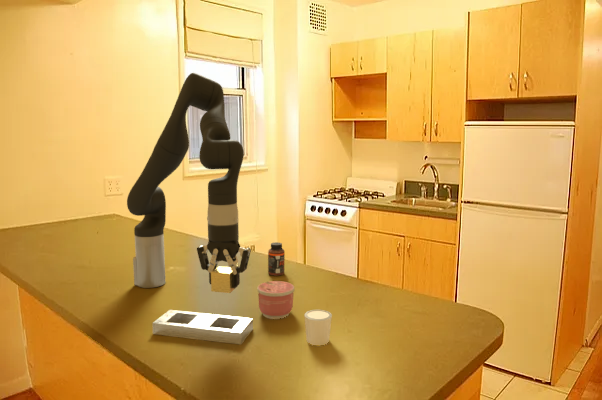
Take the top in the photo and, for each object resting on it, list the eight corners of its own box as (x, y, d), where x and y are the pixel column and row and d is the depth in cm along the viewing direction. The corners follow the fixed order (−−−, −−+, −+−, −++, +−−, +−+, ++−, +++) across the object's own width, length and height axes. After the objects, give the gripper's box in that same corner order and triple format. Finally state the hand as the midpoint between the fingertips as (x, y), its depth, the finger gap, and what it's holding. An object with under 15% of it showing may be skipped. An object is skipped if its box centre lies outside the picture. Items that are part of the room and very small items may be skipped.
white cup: (303, 335, 119) (303, 309, 118) (329, 334, 120) (329, 308, 119) (305, 347, 112) (305, 320, 111) (333, 346, 113) (334, 319, 112)
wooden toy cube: (211, 291, 116) (210, 272, 115) (219, 284, 121) (218, 266, 120) (230, 293, 115) (229, 273, 114) (237, 286, 119) (237, 267, 119)
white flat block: (152, 333, 119) (152, 322, 119) (170, 320, 128) (169, 309, 127) (240, 344, 114) (240, 332, 113) (252, 329, 122) (252, 318, 122)
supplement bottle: (282, 276, 165) (282, 246, 163) (266, 275, 166) (266, 245, 165) (286, 271, 171) (286, 242, 169) (270, 270, 172) (270, 241, 170)
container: (274, 303, 140) (274, 278, 139) (301, 312, 134) (301, 286, 132) (249, 314, 132) (249, 287, 131) (277, 324, 126) (277, 296, 124)
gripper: (255, 219, 117) (256, 284, 120) (202, 216, 120) (204, 279, 123) (245, 225, 110) (246, 294, 112) (189, 222, 113) (191, 289, 115)
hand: (224, 286), depth 117 cm, fingers closed on wooden toy cube, 5 cm apart
